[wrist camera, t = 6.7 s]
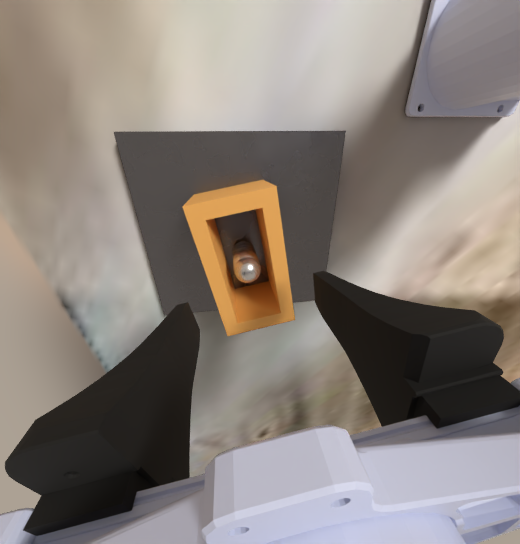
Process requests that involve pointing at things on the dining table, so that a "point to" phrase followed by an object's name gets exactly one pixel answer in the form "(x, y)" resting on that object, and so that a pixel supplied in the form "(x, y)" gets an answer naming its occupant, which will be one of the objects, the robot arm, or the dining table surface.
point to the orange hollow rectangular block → (231, 302)
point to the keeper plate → (241, 226)
